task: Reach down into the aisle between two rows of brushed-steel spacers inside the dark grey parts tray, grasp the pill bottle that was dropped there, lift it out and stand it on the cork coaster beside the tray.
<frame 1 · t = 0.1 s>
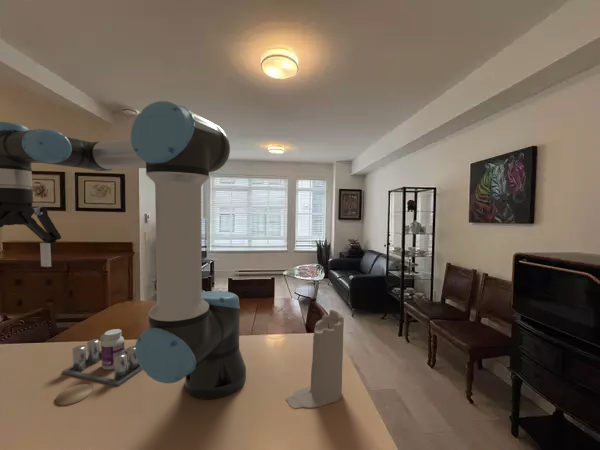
hand: (16, 271, 72), 28 cm above the kitchen counter, fingers open, 13 cm apart
spacers: (113, 364, 80), resting in parts tray rim
cork coaster: (75, 394, 67), on the kitchen counter
pill bottle: (113, 365, 80), resting in parts tray rim
parts tray rim: (113, 364, 80), on the kitchen counter
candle: (314, 397, 68), on the kitchen counter
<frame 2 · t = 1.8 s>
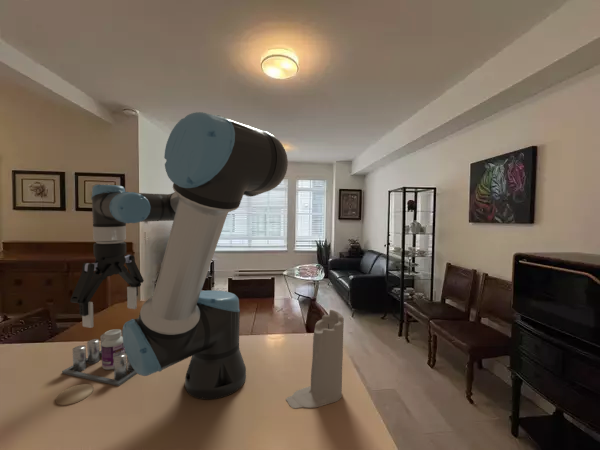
hand: (111, 316, 79), 14 cm above the kitchen counter, fingers open, 13 cm apart
nothing on the kitchen counter moved.
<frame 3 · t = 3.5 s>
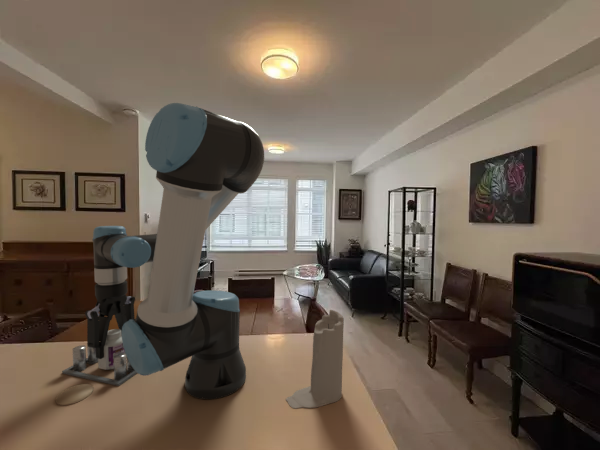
hand: (113, 362, 80), 1 cm above the kitchen counter, fingers closed on pill bottle, 5 cm apart
pill bottle: (113, 365, 80), resting in parts tray rim, touching gripper
everything else where it was.
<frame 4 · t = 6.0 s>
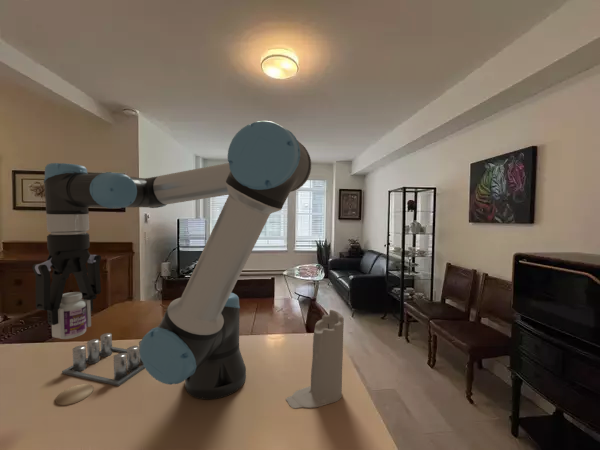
hand: (72, 331, 66), 16 cm above the kitchen counter, fingers closed on pill bottle, 5 cm apart
pill bottle: (72, 335, 66), point 15 cm above the kitchen counter, touching gripper
everything else where it was.
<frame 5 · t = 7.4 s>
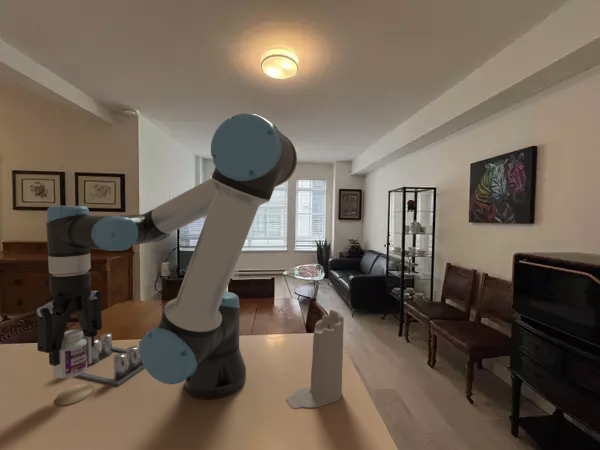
hand: (73, 369, 67), 6 cm above the kitchen counter, fingers closed on pill bottle, 5 cm apart
pill bottle: (73, 373, 67), point 5 cm above the kitchen counter, touching gripper
everything else where it was.
when the fingers open (3 cm above the kitchen counter, at t = 8.5 s): pill bottle drops 1 cm, resting on cork coaster.
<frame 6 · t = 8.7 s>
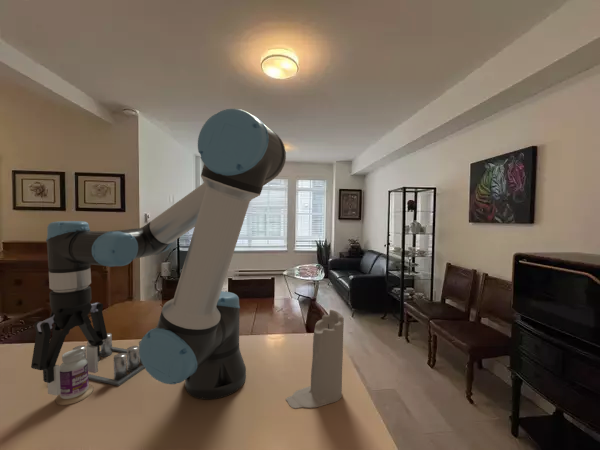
hand: (74, 381, 67), 3 cm above the kitchen counter, fingers open, 8 cm apart
pill bottle: (75, 393, 67), resting on cork coaster
everything else where it was.
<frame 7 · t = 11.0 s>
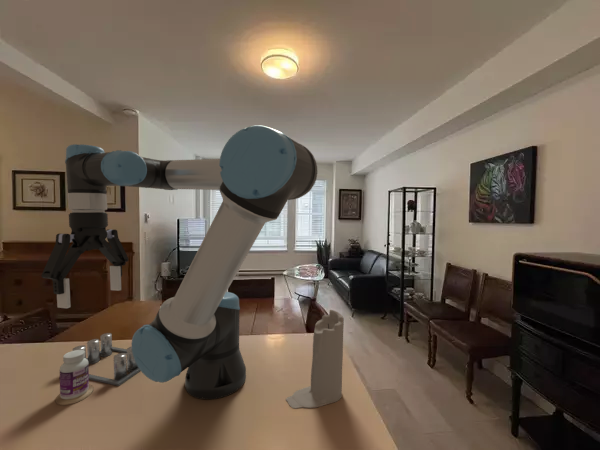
hand: (92, 298, 69), 22 cm above the kitchen counter, fingers open, 13 cm apart
nothing on the kitchen counter moved.
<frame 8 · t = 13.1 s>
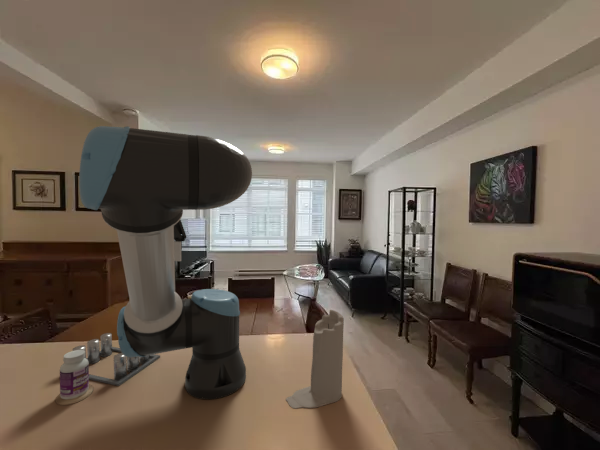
hand: (162, 265, 88), 27 cm above the kitchen counter, fingers open, 13 cm apart
nothing on the kitchen counter moved.
at the end: pill bottle 0.0 cm from the cork coaster (horizontally); pill bottle tilted 1°; the gripper is holding nothing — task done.
